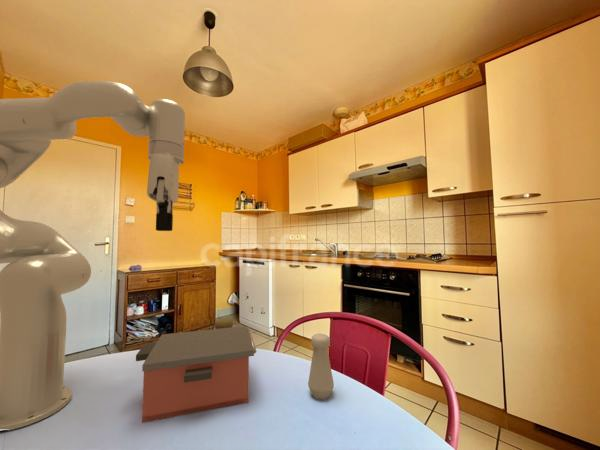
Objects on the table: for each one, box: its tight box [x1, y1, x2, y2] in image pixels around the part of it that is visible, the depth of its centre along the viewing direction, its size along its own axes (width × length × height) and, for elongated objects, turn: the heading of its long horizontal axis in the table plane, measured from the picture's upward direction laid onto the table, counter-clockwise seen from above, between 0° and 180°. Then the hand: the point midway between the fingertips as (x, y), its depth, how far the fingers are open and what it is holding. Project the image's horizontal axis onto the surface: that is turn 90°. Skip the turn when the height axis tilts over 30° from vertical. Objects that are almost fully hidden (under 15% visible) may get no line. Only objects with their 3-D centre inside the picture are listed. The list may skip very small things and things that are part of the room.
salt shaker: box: [307, 332, 335, 400], centre depth 57 cm, size 6×6×13 cm
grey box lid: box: [135, 325, 257, 372], centre depth 58 cm, size 24×16×1 cm, turn 107°
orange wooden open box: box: [141, 357, 250, 424], centre depth 58 cm, size 20×19×10 cm
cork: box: [214, 317, 234, 329], centre depth 75 cm, size 6×6×11 cm
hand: (164, 230), depth 59 cm, fingers closed
